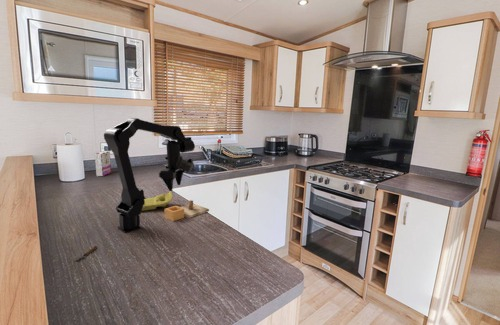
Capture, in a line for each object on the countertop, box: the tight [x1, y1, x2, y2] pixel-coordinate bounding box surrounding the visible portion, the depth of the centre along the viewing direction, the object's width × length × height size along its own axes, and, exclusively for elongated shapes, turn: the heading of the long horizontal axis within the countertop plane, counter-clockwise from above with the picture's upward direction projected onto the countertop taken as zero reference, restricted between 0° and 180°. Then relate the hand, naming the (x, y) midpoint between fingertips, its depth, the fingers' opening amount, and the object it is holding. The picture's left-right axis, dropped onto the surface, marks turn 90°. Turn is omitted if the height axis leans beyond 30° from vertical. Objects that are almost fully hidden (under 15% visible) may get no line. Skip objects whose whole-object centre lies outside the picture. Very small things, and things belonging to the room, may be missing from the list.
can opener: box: [73, 245, 98, 263], centre depth 84 cm, size 9×2×1 cm, turn 168°
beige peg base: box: [180, 199, 210, 219], centre depth 126 cm, size 12×12×5 cm
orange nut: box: [164, 205, 185, 222], centre depth 118 cm, size 6×6×4 cm
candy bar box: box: [94, 150, 112, 177], centre depth 188 cm, size 11×5×16 cm, turn 179°
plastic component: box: [141, 190, 173, 212], centre depth 129 cm, size 20×7×10 cm
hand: (175, 187), depth 122 cm, fingers open, 9 cm apart
